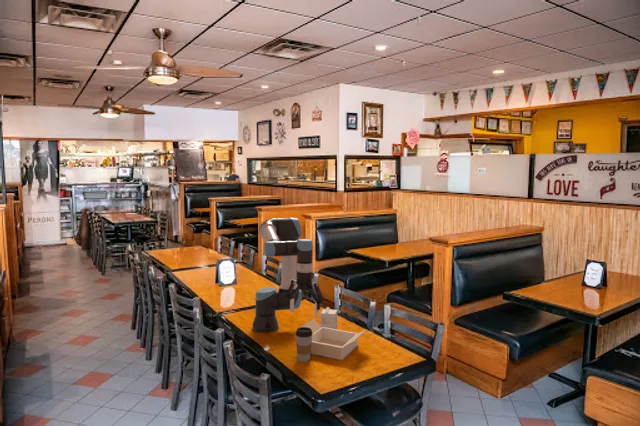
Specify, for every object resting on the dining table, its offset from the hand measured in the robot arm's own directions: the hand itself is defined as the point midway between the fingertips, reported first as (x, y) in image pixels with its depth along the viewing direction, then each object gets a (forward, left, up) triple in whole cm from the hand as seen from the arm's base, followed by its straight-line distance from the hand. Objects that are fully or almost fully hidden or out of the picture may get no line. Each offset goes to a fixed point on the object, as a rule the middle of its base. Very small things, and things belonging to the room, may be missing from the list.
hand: (304, 314), depth 221 cm
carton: (+7, +18, -23) cm, 30 cm away
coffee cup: (0, 0, -23) cm, 23 cm away
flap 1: (-6, +18, -14) cm, 24 cm away
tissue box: (-5, +41, -23) cm, 47 cm away
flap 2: (+20, +18, -14) cm, 31 cm away
